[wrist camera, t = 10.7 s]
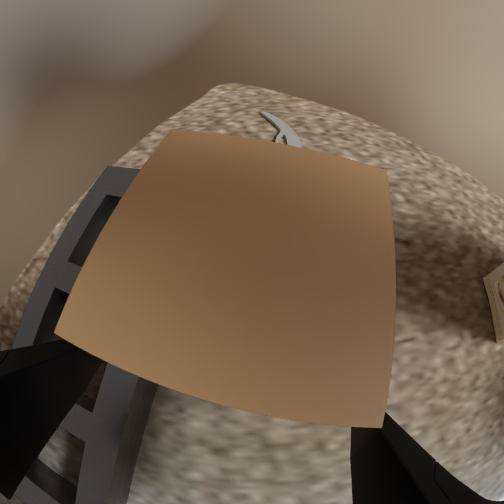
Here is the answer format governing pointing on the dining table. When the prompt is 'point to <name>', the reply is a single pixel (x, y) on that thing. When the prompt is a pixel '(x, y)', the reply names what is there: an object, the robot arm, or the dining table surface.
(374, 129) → the dining table surface
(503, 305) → the coffeecake box
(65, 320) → the peg
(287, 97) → the dining table surface
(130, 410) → the grey long block
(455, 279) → the dining table surface
